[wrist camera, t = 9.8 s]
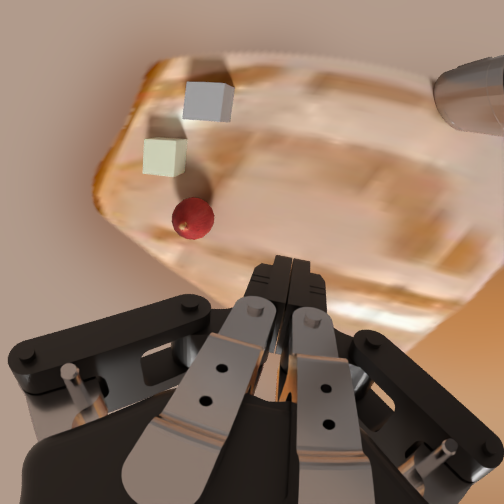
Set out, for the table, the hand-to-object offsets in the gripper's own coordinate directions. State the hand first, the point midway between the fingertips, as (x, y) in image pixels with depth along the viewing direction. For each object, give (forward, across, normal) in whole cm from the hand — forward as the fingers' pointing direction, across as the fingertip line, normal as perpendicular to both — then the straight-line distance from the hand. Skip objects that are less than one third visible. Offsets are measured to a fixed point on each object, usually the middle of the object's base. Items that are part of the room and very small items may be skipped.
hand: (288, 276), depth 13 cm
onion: (+29, +14, +8) cm, 33 cm away
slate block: (+29, +13, -8) cm, 33 cm away
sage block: (+29, +19, 0) cm, 35 cm away
